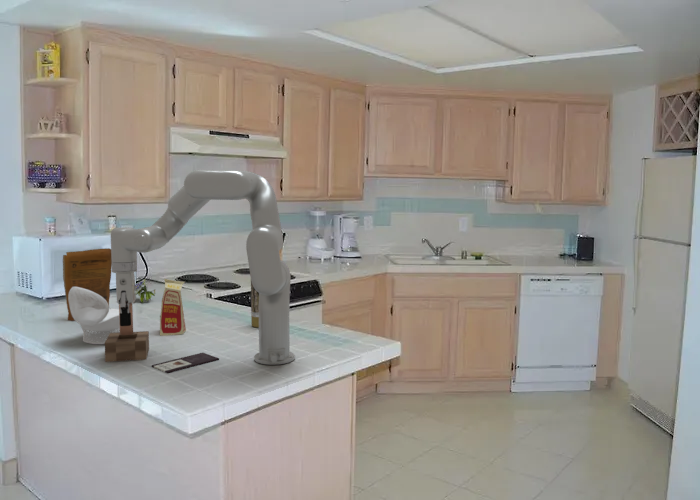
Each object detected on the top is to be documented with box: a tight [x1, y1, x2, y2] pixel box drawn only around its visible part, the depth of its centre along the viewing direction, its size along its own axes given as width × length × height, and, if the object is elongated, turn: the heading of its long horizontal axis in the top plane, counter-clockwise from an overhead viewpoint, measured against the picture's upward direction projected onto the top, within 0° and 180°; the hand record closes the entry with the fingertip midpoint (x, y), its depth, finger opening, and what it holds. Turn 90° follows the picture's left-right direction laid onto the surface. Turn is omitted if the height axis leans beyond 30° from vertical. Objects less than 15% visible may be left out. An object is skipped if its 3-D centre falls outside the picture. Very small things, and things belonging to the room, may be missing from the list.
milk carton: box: [159, 278, 187, 337], centre depth 223 cm, size 9×9×20 cm
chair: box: [68, 287, 120, 345], centre depth 211 cm, size 20×20×20 cm
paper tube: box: [250, 280, 259, 328], centre depth 232 cm, size 7×7×25 cm
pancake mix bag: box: [62, 247, 112, 322], centre depth 242 cm, size 7×19×28 cm, turn 125°
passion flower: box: [135, 278, 156, 304], centre depth 278 cm, size 11×11×12 cm
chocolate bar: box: [151, 352, 220, 374], centre depth 187 cm, size 9×1×18 cm
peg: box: [118, 300, 134, 335], centre depth 193 cm, size 4×4×12 cm
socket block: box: [104, 330, 150, 363], centre depth 194 cm, size 12×12×6 cm
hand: (126, 323), depth 193 cm, fingers closed on peg, 4 cm apart
